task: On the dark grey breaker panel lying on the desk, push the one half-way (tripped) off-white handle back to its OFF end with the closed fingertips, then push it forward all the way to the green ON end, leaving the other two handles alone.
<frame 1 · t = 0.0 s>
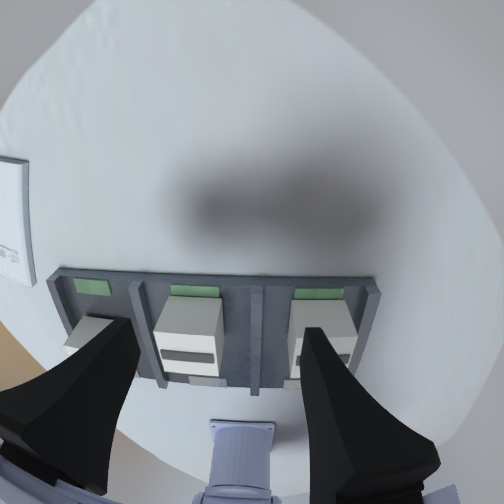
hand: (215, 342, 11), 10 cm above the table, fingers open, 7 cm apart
external hard drive: (8, 216, 21), on the table
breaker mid: (192, 336, 20), point 4 cm above the table, slide at 3.0 cm
panel: (204, 333, 25), on the table
tripped breaker: (98, 350, 22), point 4 cm above the table, slide at 0.0 cm
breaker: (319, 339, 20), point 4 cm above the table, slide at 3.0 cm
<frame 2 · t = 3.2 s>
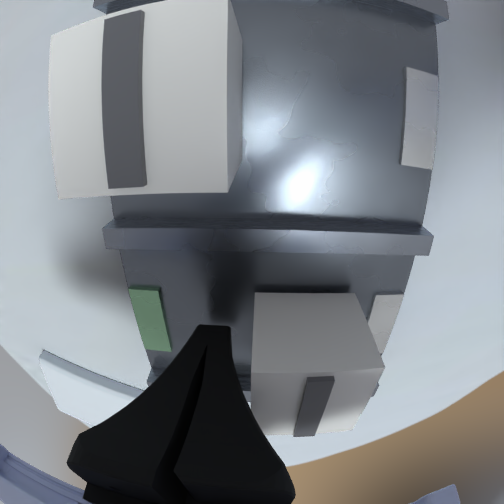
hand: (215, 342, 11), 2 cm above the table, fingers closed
external hard drive: (121, 401, 19), on the table
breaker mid: (156, 99, 6), point 4 cm above the table, slide at 3.0 cm
panel: (272, 101, 9), on the table
tripped breaker: (306, 367, 10), point 4 cm above the table, slide at -1.5 cm, touching gripper
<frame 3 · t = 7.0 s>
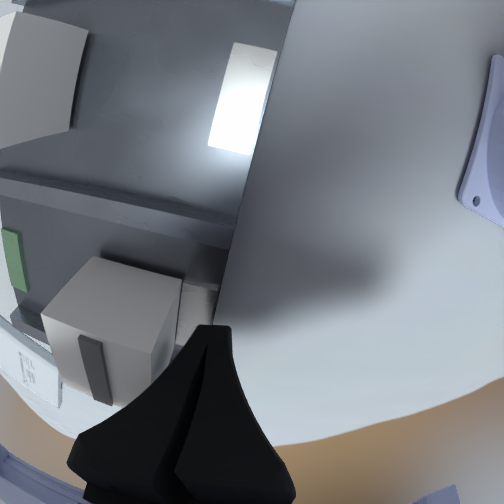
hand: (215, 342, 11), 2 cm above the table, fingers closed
external hard drive: (11, 341, 18), on the table
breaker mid: (5, 82, 6), point 4 cm above the table, slide at 3.0 cm
panel: (116, 81, 9), on the table
tripped breaker: (116, 337, 10), point 4 cm above the table, slide at -2.5 cm, touching gripper
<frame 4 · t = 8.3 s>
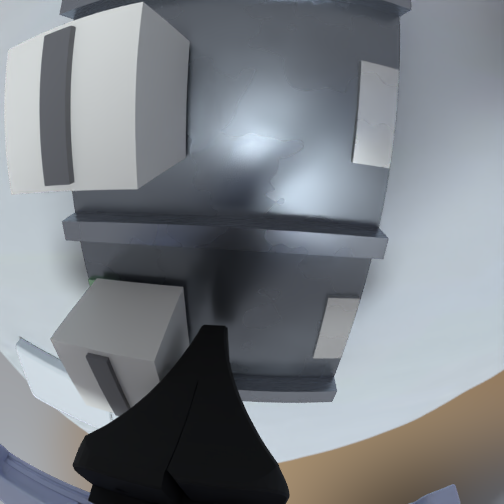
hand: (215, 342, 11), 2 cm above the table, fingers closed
external hard drive: (91, 391, 19), on the table
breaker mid: (98, 102, 6), point 4 cm above the table, slide at 3.0 cm
panel: (223, 99, 9), on the table
tripped breaker: (128, 352, 10), point 4 cm above the table, slide at 3.3 cm, touching gripper
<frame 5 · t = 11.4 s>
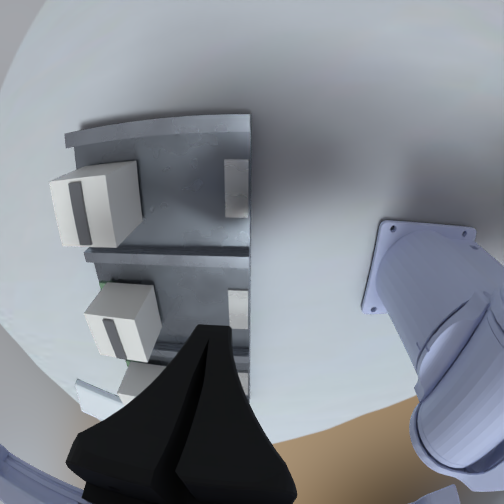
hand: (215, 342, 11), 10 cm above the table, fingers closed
external hard drive: (122, 407, 33), on the table
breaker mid: (125, 321, 19), point 4 cm above the table, slide at 3.0 cm
panel: (174, 296, 23), on the table
tripped breaker: (148, 393, 24), point 4 cm above the table, slide at 3.2 cm
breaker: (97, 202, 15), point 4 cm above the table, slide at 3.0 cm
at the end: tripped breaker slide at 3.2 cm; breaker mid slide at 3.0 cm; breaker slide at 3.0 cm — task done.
